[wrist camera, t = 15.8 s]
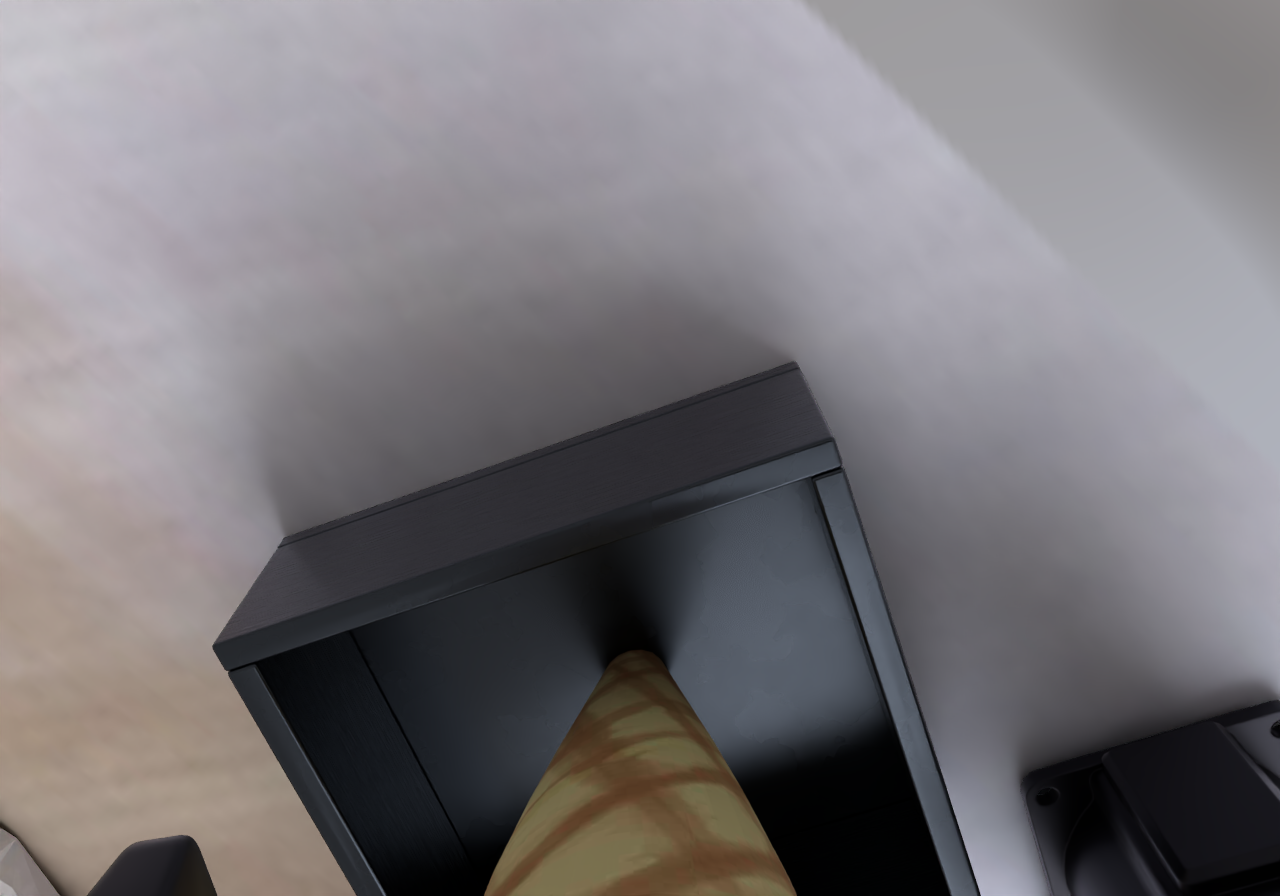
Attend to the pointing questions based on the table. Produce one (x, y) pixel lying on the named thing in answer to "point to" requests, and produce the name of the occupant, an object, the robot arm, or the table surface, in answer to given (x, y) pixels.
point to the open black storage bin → (602, 648)
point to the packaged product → (20, 871)
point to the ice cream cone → (638, 804)
